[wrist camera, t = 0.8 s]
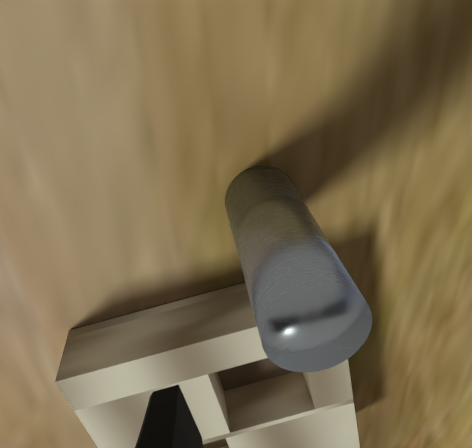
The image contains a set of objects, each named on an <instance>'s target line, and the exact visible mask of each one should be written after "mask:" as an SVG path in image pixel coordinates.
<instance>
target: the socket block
mask: <svg viewBox="0 0 472 448" xmlns="http://www.w3.org/2000/svg"><path fill="white" fill-rule="evenodd" d="M55 382H56V384H57V385H58V387H59V389H60V390H61V392H62V393H63V395H64V396H65V398H66V399H67V401H68V402H69V404H70V405H71V407H72V408H73V410H74V411H75V413H76V415H77V416H78V418H79V419H80V421H81V422H82V424H83V425H84V427H85V428H86V430H87V431H88V433H89V434H90V436H91V437H92V439H93V441H94V442H95V444H96V445H97V447H98V448H135V446H136V443H137V440H138V437H139V433H140V430H141V427H142V424H143V420H144V417H145V413H146V410H147V406H148V402H149V398H150V396H151V394H152V393H153V392H154V391H157V390H161V389H164V388H168V387H172V386H175V385H179V386H180V389H181V391H182V393H183V395H184V398H185V400H186V402H187V404H188V407H189V409H190V411H191V414H192V416H193V418H194V420H195V423H196V425H197V427H198V430H199V432H200V434H201V436H202V441H203V448H360V445H359V437H358V430H357V423H356V415H355V408H354V401H353V393H352V386H351V378H350V371H349V364H348V359H347V360H345V361H344V362H342V363H340V364H338V365H336V366H334V367H331V368H328V369H325V370H321V371H316V372H305V373H303V372H294V371H289V370H286V369H283V368H281V367H279V366H277V365H276V364H274V363H273V362H272V361H271V360H270V359H269V358H268V357H267V355H266V354H265V352H264V349H263V347H262V343H261V339H260V335H259V332H258V328H257V324H256V320H255V317H254V313H253V309H252V305H251V302H250V298H249V294H248V290H247V287H246V283H242V284H238V285H234V286H231V287H227V288H223V289H220V290H216V291H212V292H209V293H205V294H201V295H198V296H194V297H190V298H187V299H183V300H179V301H176V302H172V303H168V304H165V305H161V306H157V307H154V308H150V309H146V310H143V311H139V312H135V313H132V314H128V315H124V316H121V317H117V318H113V319H110V320H106V321H102V322H99V323H95V324H91V325H88V326H84V327H80V328H77V329H73V330H69V333H68V336H67V340H66V344H65V347H64V351H63V355H62V358H61V362H60V366H59V370H58V373H57V377H56V381H55Z"/></svg>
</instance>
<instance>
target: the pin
mask: <svg viewBox="0 0 472 448" xmlns="http://www.w3.org/2000/svg"><path fill="white" fill-rule="evenodd" d="M225 207H226V211H227V215H228V219H229V223H230V226H231V230H232V234H233V238H234V241H235V245H236V249H237V253H238V256H239V260H240V264H241V268H242V272H243V275H244V279H245V283H246V287H247V290H248V294H249V298H250V302H251V305H252V309H253V313H254V317H255V320H256V324H257V328H258V332H259V335H260V339H261V343H262V347H263V349H264V352H265V354H266V355H267V357H268V358H269V359H270V360H271V361H272V362H273V363H274V364H276V365H277V366H279V367H281V368H283V369H286V370H289V371H294V372H303V373H305V372H316V371H321V370H325V369H328V368H331V367H334V366H336V365H338V364H340V363H342V362H344V361H345V360H347V359H348V358H350V357H351V356H352V355H353V354H355V353H356V352H357V351H358V350H359V349H360V348H361V346H362V345H363V344H364V342H365V341H366V339H367V337H368V335H369V333H370V330H371V326H372V313H371V310H370V307H369V305H368V303H367V302H366V300H365V299H364V297H363V295H362V294H361V292H360V291H359V289H358V287H357V286H356V284H355V283H354V281H353V279H352V278H351V276H350V275H349V273H348V271H347V270H346V268H345V267H344V265H343V263H342V262H341V260H340V259H339V257H338V255H337V254H336V252H335V251H334V249H333V247H332V246H331V244H330V243H329V241H328V239H327V238H326V236H325V235H324V233H323V231H322V230H321V228H320V227H319V225H318V223H317V222H316V220H315V219H314V217H313V215H312V214H311V212H310V211H309V209H308V207H307V206H306V204H305V203H304V201H303V199H302V198H301V196H300V195H299V193H298V191H297V190H296V188H295V187H294V185H293V183H292V182H291V180H290V179H289V177H288V176H287V175H286V174H285V173H283V172H282V171H280V170H278V169H276V168H273V167H268V166H259V167H254V168H250V169H248V170H246V171H244V172H242V173H240V174H239V175H238V176H237V177H236V178H235V179H234V180H233V181H232V182H231V184H230V185H229V187H228V189H227V192H226V196H225Z"/></svg>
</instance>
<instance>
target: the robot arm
mask: <svg viewBox="0 0 472 448" xmlns="http://www.w3.org/2000/svg"><path fill="white" fill-rule="evenodd" d="M135 448H203V441H202V436H201V434H200V432H199V430H198V427H197V425H196V423H195V420H194V418H193V416H192V414H191V411H190V409H189V407H188V404H187V402H186V400H185V398H184V395H183V393H182V391H181V389H180V386H179V385H175V386H172V387H168V388H164V389H161V390H157V391H154V392H153V393H152V394H151V396H150V398H149V402H148V406H147V410H146V413H145V417H144V420H143V424H142V427H141V430H140V433H139V437H138V440H137V443H136V446H135Z"/></svg>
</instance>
